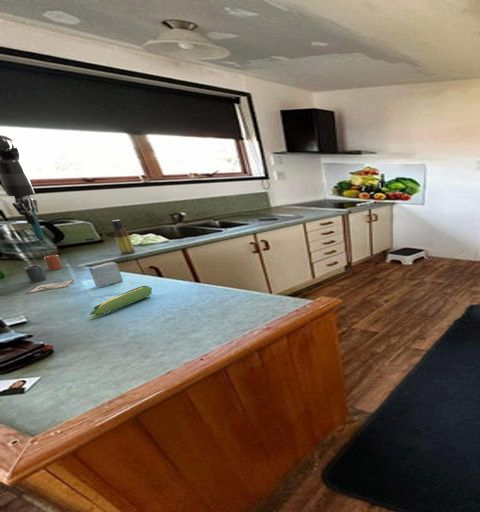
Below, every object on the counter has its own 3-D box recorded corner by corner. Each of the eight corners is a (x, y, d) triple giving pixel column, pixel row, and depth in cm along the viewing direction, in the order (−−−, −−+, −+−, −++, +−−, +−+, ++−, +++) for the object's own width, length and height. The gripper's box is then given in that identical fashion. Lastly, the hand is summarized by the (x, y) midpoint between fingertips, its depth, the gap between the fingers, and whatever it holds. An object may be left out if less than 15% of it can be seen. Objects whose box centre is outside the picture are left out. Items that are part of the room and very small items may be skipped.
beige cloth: (26, 294, 110) (25, 293, 109) (36, 287, 117) (36, 285, 117) (68, 287, 116) (67, 286, 116) (76, 280, 123) (75, 279, 123)
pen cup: (47, 271, 134) (41, 258, 132) (51, 268, 138) (46, 255, 135) (61, 269, 136) (55, 256, 134) (64, 267, 140) (59, 254, 138)
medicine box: (118, 279, 124) (112, 261, 121) (123, 281, 122) (117, 263, 119) (95, 286, 117) (88, 267, 114) (100, 288, 115) (92, 269, 112)
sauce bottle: (129, 250, 165) (118, 218, 159) (137, 251, 164) (127, 219, 158) (117, 254, 159) (106, 221, 153) (126, 254, 158) (114, 221, 152)
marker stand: (29, 284, 120) (22, 269, 117) (34, 280, 123) (27, 266, 121) (44, 281, 122) (37, 267, 120) (49, 278, 126) (42, 264, 123)
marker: (36, 240, 125) (24, 212, 121) (39, 239, 127) (27, 212, 123) (44, 240, 126) (32, 212, 122) (46, 239, 128) (35, 211, 124)
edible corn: (157, 295, 108) (154, 284, 106) (93, 321, 90) (88, 309, 88) (148, 293, 109) (145, 283, 108) (84, 319, 91) (78, 307, 90)
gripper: (13, 183, 122) (29, 221, 128) (-7, 185, 111) (12, 227, 116) (38, 183, 126) (52, 219, 131) (21, 184, 115) (38, 224, 120)
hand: (33, 223), depth 124 cm, fingers closed on marker, 2 cm apart
